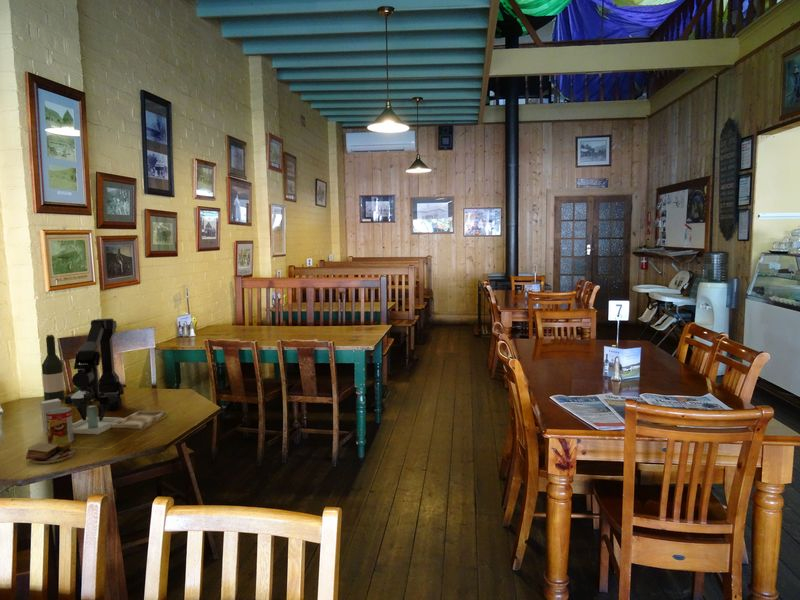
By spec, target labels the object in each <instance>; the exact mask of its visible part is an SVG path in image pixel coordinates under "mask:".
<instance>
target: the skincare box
mask: <svg viewBox="0 0 800 600" xmlns="http://www.w3.org/2000/svg"><path fill="white" fill-rule="evenodd" d="M60 407H62V400H59V399H53V400H48V401H45V400H44V401H43V400H42V401H40V409H41V410H40V411H41V418H42V419H41V421H42V430H43V432H44V433H45V434H48V433H47V420H46V411H48V410H50V409H54V408H60Z"/></svg>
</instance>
